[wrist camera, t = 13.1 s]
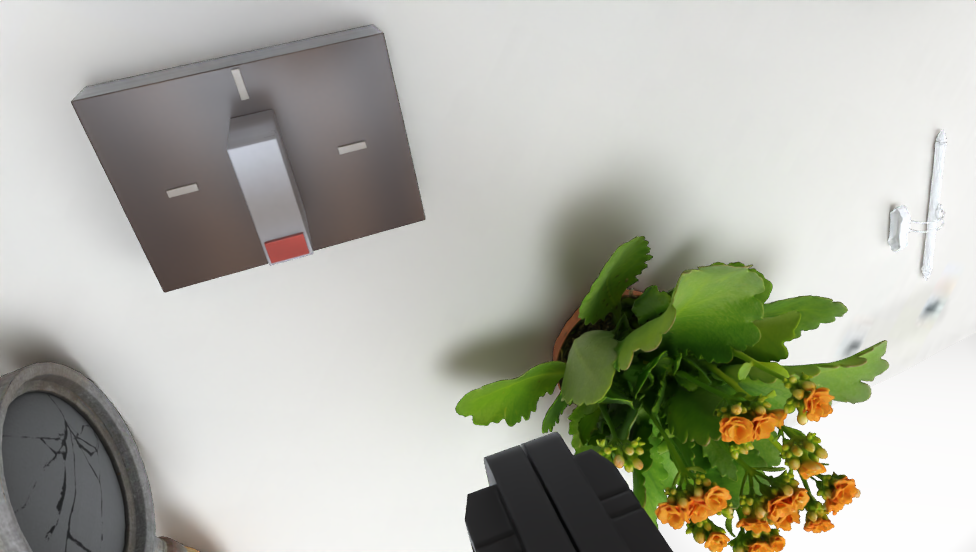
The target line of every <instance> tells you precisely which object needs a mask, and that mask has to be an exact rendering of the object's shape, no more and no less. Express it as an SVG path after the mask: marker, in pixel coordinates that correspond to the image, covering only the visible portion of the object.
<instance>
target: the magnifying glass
mask: <svg viewBox="0 0 976 552" xmlns="http://www.w3.org/2000/svg"><path fill="white" fill-rule="evenodd" d="M0 552H200V551H198V550H196V549H194V548H191V547H187V546H184V545H183V544H181V543H179V542H177V541H175V540H173V539H171V538H168V537H163V536H161V537H157V536H155V516H154V505H153V500H152V495H151V490H150V485H149V481H148V478H147V474H146V471H145V467H144V464H143V461H142V459H141V456H140V454H139V451H138V448H137V446H136V444H135V442H134V440H133V438H132V436H131V434H130V432H129V430H128V428H127V426H126V424H125V423H124V421H123V419H122V418H121V416H120V415H119V413H118V411H117V410H116V409H115V407H114V406H113V405H112V403H111V402H110V401H109V400H108V398H107V397H106V396H105V394H104V393H103V392H102V391H101V390H100V389H99V388H98V387H97V386H96V385H95V384H94V383H93V382H91V381H90V380H89V379H87V378H86V377H85V376H83V375H82V374H81V373H79V372H78V371H76V370H74V369H71V368H69V367H67V366H65V365H62V364H57V363H53V362H43V363H35V364H32V365H29V366H27V367H24V368H22V369H19V370H16V371H14V372H11V373H9V374H6V375H3V376H1V377H0Z"/></svg>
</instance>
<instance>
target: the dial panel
mask: <svg viewBox="0 0 976 552" xmlns="http://www.w3.org/2000/svg"><path fill="white" fill-rule="evenodd" d="M71 103H72V105H73V107H74V109H75V111H76V113H77V116H78V118H79V120H80V122H81V124H82V126H83V128H84V130H85V132H86V134H87V136H88V138H89V140H90V142H91V144H92V146H93V148H94V150H95V152H96V154H97V156H98V158H99V161H100V163H101V165H102V167H103V169H104V171H105V173H106V175H107V177H108V179H109V181H110V183H111V185H112V187H113V189H114V191H115V193H116V195H117V197H118V199H119V201H120V203H121V205H122V208H123V210H124V212H125V214H126V216H127V218H128V220H129V222H130V224H131V226H132V228H133V230H134V232H135V234H136V236H137V238H138V240H139V242H140V244H141V246H142V248H143V250H144V253H145V255H146V257H147V259H148V261H149V263H150V265H151V267H152V269H153V271H154V273H155V275H156V277H157V279H158V281H159V283H160V285H161V287H162V289H163V291H164V292H168V291H172V290H175V289H179V288H182V287H186V286H190V285H193V284H197V283H200V282H204V281H208V280H211V279H215V278H218V277H222V276H225V275H229V274H233V273H236V272H240V271H243V270H247V269H250V268H254V267H258V266H261V265H265V264H268V261H267V258H266V255H265V253H264V250H263V247H262V244H261V242H260V239H259V236H258V234H257V231H256V228H255V225H254V223H253V220H252V217H251V215H250V212H249V209H248V206H247V204H246V201H245V198H244V196H243V193H242V190H241V187H240V185H239V182H238V179H237V177H236V174H235V171H234V168H233V166H232V163H231V160H230V158H229V155H228V152H227V146H228V136H229V125H230V119H232V118H236V117H240V116H245V115H249V114H254V113H258V112H263V111H267V110H273V112H274V115H275V118H276V121H277V125H278V128H279V131H280V134H281V137H282V140H283V143H284V146H285V150H286V153H287V156H288V159H289V162H290V165H291V168H292V172H293V175H294V178H295V181H296V184H297V187H298V190H299V193H300V197H301V200H302V203H303V206H304V209H305V212H306V217H307V222H308V228H309V233H310V238H311V243H312V248H313V251H315V250H318V249H322V248H326V247H329V246H333V245H336V244H340V243H343V242H347V241H351V240H354V239H358V238H361V237H365V236H369V235H372V234H376V233H379V232H383V231H386V230H390V229H394V228H397V227H401V226H404V225H408V224H411V223H415V222H419V221H422V220H425V214H424V210H423V205H422V201H421V196H420V192H419V188H418V183H417V179H416V174H415V170H414V165H413V161H412V157H411V152H410V148H409V143H408V139H407V134H406V130H405V126H404V121H403V117H402V112H401V108H400V103H399V99H398V95H397V90H396V86H395V81H394V77H393V72H392V68H391V64H390V59H389V55H388V50H387V46H386V41H385V37H384V33H383V32H382V31H380V30H379V29H378V28H377V27H376V26H374V25H373V24H372V25H368V26H363V27H359V28H354V29H349V30H345V31H340V32H336V33H331V34H326V35H322V36H317V37H313V38H308V39H303V40H299V41H294V42H290V43H285V44H280V45H276V46H271V47H266V48H262V49H257V50H253V51H248V52H243V53H239V54H234V55H230V56H225V57H220V58H216V59H211V60H207V61H202V62H197V63H193V64H188V65H184V66H179V67H174V68H170V69H165V70H160V71H156V72H151V73H147V74H142V75H137V76H133V77H128V78H124V79H119V80H114V81H110V82H105V83H101V84H96V85H91V86H87V87H85V88H84V89H83V90H82V91H81V92H80V93H79V94H78V95H77V96H76V97H75V98H74V99H73V100H72V101H71Z"/></svg>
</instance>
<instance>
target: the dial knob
mask: <svg viewBox="0 0 976 552" xmlns="http://www.w3.org/2000/svg"><path fill="white" fill-rule="evenodd" d="M227 152H228V155H229V158H230V160H231V163H232V166H233V168H234V171H235V174H236V177H237V179H238V182H239V185H240V187H241V190H242V193H243V196H244V198H245V201H246V204H247V206H248V209H249V212H250V215H251V217H252V220H253V223H254V225H255V228H256V231H257V234H258V236H259V239H260V242H261V244H262V247H263V250H264V253H265V255H266V258H267V261H268V263H269V265H274V264H278V263H281V262H285V261H289V260H293V259H296V258H300V257H304V256H307V255H311V254H313V248H312V243H311V238H310V233H309V228H308V222H307V217H306V212H305V209H304V206H303V203H302V200H301V197H300V193H299V190H298V187H297V184H296V181H295V178H294V175H293V172H292V168H291V165H290V162H289V159H288V156H287V153H286V150H285V146H284V143H283V140H282V137H281V134H280V131H279V128H278V125H277V121H276V118H275V115H274V112H273V110H267V111H263V112H258V113H254V114H249V115H245V116H240V117H236V118H232V119H230V125H229V136H228V146H227Z"/></svg>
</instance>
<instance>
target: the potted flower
mask: <svg viewBox="0 0 976 552" xmlns="http://www.w3.org/2000/svg"><path fill="white" fill-rule="evenodd" d="M644 239H645V237H644V236H641V237H639V236H637V237H635V238H634V239H632V240H630V241H629V242H626V243H624V244H622V245H621V246H619V247H618V248H617V249H616V251H615V252H614V253H613V254H612V256H611V257H610V259H609V260H608V262H607V263H606V264H605V265H604V267H603V269H602V271H601V272H600V274H599V277H598V278H597V279H596V280H595V281H594V283H593V284H592V286H591V288H590V292H589V293H588V294H587V295H586V296H585V298H584V299H583V301H582V302H581V303H582V304H581V306H580V308H578V309H577V310H576V311H575V312H574V314H573V316H572V317H571V318H570V319H569V320H568V321H567V322H566V324H565V325H564V327H563V329H562V331H561V333H560V335H559V336H558V338H557V339H556V341H555V345H554V350H553V361H549V362H545V363H542V364H539V365H537V366H535V367H533V368H531V369H530V370H528V371H527V372H525V373H524V374H523V375H521V376H520V377H517V378H514V379H509V380H508V379H505V380H500V381H497V382H493V383H490V384H487V385H484V386H482V387H481V388H479V389H475V390H472V391H470V392H469V393H467V394H465V396H464V397H463V398H462V399H461V400H460V401H459V402H458V404H457V406H456V408H455V409H456V412H457V413H458V414H459V415H463V416H464V417H467V416H469V415H472V416H473V419H472V420H473V423H474V424H475V425H484V426H488V425H489V423H490V422H494V423H499V422H500V421H501V420H502V419H505V420H506V423H507V424H508V426H510V427H512V426H514V425H515V424H516V423H517V422H518V423H520V421H521V417H522V416H523V418H524V419H525V420H528V419H529V417H530V413H531V411H533V412H535V411H536V405H537V402H538V400H539V397H541V396H542V397H543V396H544V395H545V393H546V392H548V393H549V395H551V394H552V393H553V391H554V389H555V386H556V385H557V383H558V386H559V389H560V390H561V392H560V394H559V395H558V397H557V398H556V400H555V401H554V403H553V404H552V405H551V407H550V408H549V410H548V411H547V413H546V416H545V418H544V420H543V425H542V433H548V429H549V430H550V432H552V430H553V426H555V421H556V423H559V415H560V414H561V415H562V414H563V410H564V409H565V408H566V407H567V405H568V404H569V406H570V405H571V404H572V403H574V404H576V405H577V408H575V409H574V410H573V412H572V414H571V415H570V416H569V417H568V419H569V420H571V422H570V423H569V432H568V433H569V434H570V435H573V440H572V442H571V445H572V447H573V448H574V449H575V451H576V452H575V455H576V454H578V453H581V452H584V451H587V450H589V449H593V450H594V451H596V452H597V453H599V454H600V455H602V456H603V457H604V458H606V459H607V460H609V461H610V462H612V463H613V464H614V465H615V466H616V467H617V468H622V467H623V466H624V468H625V470H626V471H627V472H633V493H634V495H635V496H636V497H637V499H638V500H639V502H640V505H641V507H642V508H644V509H645V511H646V512H647V514H648V515H649V517H650V518H651V520H652V521H653V523H654V524H655V526H656V527H657V529H658V524H657V522H656V519H657V518H658V519H659V520H661V522H662V524H666V523H669V525H670V526H671V527H673V528H674V529H680V528H681V527H682V526H683V524H684V521H686V522H687V524H686V526H687V530H686V534H689V533H691V532H692V533H693V537H694V539H695V541H696V542H698V543H699V544H702V543H704V542H705V541H706V543H705V548H709V550H710V551H711V552H716V551H717V552H721V551H722V550H723V547H726V546H727V545H730V546H731V547H732V546H733V552H774V551H775V552H779V551H781V550H782V549H783V547H784V546H785V539H784V538H783V537H782V536H780V535H779V533H778V532H779V530H778V529H779V528H782V529H783V530H784V531H790V530H791V523H793V522H796V523H798V524H800V520H799V518H800V515H799V510H800V511H803V510H804V508H805V509H806V511H807V514H806V523H805V526H804V530H805V531H807V532H809V531H813V533H820V532H821V531H824V532H826V531H828V530H830V529H831V528H834V525H833V524H832V523H831V521H830V520H829V519H828V517H827V515H826V514H829V512H831V511H833V515H836V514H837V512H839V510H842V509H843V506H844V505H845V504H849V503H852V498H853V497H856V498H858V497H859V496H860V491H859V490H858V489H857V488H856V487H855V486H856V485H855V480H854V479H848V478H847V476H846V475H837V474H835V472H833V474H832V476H831V475H821V474H820V473H824V472H826V468H825V467H824V465H829V464H825V463H819V458H821V459H826V458H827V457H828V454H827V452H826V450H825V449H823V448H822V447H821V446H820V445H819V444H818V443H820V442H821V440H820V438H818V437H816V436H815V435H816V433H810V432H809V433H808V434H807V436H805V435H804V434H803V433H802V432H801V431H799V430H797V429H793V428H790V427H787V426H785V425H784V419H785V418H786V416H787V414H790V413H793V412H794V411H795V409H796V408H797V410H798V416H797V421H798V423H799V424H801V425H805V424H806V423H807V422H808V420H810V421H816V422H818V421H819V420H820V417H827V416H828V414H831V413H832V412H833V409H832V407H831V404H832V400H835V401H840V402H851V403H853V404H855V403H858V402H864V401H866V400H867V399H869V398H870V395H871V388H870V386H869V385H868V384H866V383H863V382H861V380H863V381H873V380H874V378H875V376H877V375H880V374H882V373H883V372H884V371H885V370H887V369H888V367H889V363H888V362H887V361H886V360H883V359H881V357H882V356H883V355H884V354H885V352H886V346H887V341H886V340H884V341H881V342H879V343H877V344H875V345H873V346H871V347H869V348H867V349H865V350H863V351H861V352H859V353H857V354H855V355H853V356H851V357H848V358H845V359H843V360H839V361H836V362H831V363H820V364H809V365H796V366H781V365H779V364H778V363H777V362H779V360H781V359H786V358H787V357H788V350H787V348H786V347H785V346H784V342H785V341H791V340H792V339H796V338H799V337H800V336H801V330H804V331H808V330H813V329H816V328H818V327H819V324H820V323H831V322H834V321H835V317H842V316H843V315H844V313H846V312H847V311H848V309H847V307H846V306H845V305H844V304H843V303H841V302H832V301H833V300H832V299H830V298H824V297H820V296H811V295H809V296H798V297H795V298H788V299H784V300H778V301H775V302H771V303H768V304H764V303H765V301H766V300H767V299H768V298H769V295H770V293H771V291H772V288H773V286H772V283H771V282H770V281H768V280H767V279H765V278H764V276H763V274H762V273H760V272H758V271H756V269H754V268H752V269H748V268H750V267H752V266H753V265H748V266H745V265H744V264H742V263H740V262H735V263H729V264H728V265H726V264H724V263H721V262H716V263H713V264H711V265H710V266H702V267H698V269H699V270H696V269H689V270H685V271H684V272H683V273H682V274H681V275H680V277H679V280H678V282H677V284H676V287H675V288H673V289H671V290H670V291H668V292H667V293H666V292H665V291H662V292H659V291H658V287H657V286H656V285H654V286H653V285H651V286H650V287H648V288H646V290H645V291H644V292H639V291H635V290H634V289H631V290H629V289H627V288H628V287H629V286H630V285H632V284H634V283H635V282H637V281H639V280H638V279H636V276H637V275H639V274H641V273H642V270H643V269H645V268H647V264H645V262H646V261H648V260H650V259H651V258H653V256H651V255H646V254H647V253H649V252H650V248H649V247H647V245H648V243H649V242H648V241H647V240H644ZM770 361H776V362H770ZM774 427H777V428H778V429H779V432H778V435H777V433H776V432H775V431H774ZM783 431H784V432H785V433H786V435H787V436H788V437H789V438H790V440H789V439H786V438H784V433H783ZM781 435H782V437H783V445H781V444H780V443H779V442H778V441H777V440H778V439H779V437H780V436H781ZM780 453H781V454H780ZM781 458H783V459H785V465H787V466H789V468H790V470H789V472H788V473H787V470H785V468H783V467H778V468H776V467H772V466H778V465H779V464H780V462H781ZM782 470H785V471H784V472H783V473H782V474H781V475H780V476H778V477H775V478H773V476H769V477H768V476H766V475H765V473H764V472H763V471H769V472H773V471H774V472H775V471H782ZM793 470H797V471H798V473H799V475H800V477H801V480H802V482H803V485H804V487H805V489H804V488H798V485H799V482H798V481H796V480H795V479H794V475H793ZM814 475H815V476H817V477H818V478H820V479H821V480H822V481H817V480H816V479H814V478H813V477H812V476H814ZM809 477H810V478H811V479H813V480H815V481H816V486H817V488H818V489H819V490H818V492H817V496H822V497H823V499H824V500H825V503H824V504H823V505H822V503H820V502H819V501H816V499H815V498H814V497H813V496H812V494H811V492H810V489H809V486H808V483H807V479H808V478H809ZM676 484H677V485H678V487H677V488H676ZM770 485H771V486H770ZM664 490H665V491H666V492H664ZM806 492H807V493H806ZM667 495H669V496H668V498H667ZM657 506H659V507H658V508H656V507H657ZM734 510H736V511H737V514H738V517H739V522H738V523H737V524H736V527H737V528H739V527H740V528H741V530H740V532H739V534H738V536H737V537H736V538H735V539H733V540H731V541H730V539H729V538H728V537H727V536H726V535H725V533H726V532H725V530H724V529H723V528H721V527H718V526H716V525H715V524H714V523H713V522H712V521H711V520H709V519H708V516H712V515H714V514H717V515H721V514H722V515H723V516H724V517H726V518H727V519H726V522H725V526H726V529H727V530H728V532H729V533H730V534H731V535H732V536H733V537H735V535H734V534H733V533H732V525H731V523H732V518H733V512H734ZM773 524H774V525H775V526H776V528H777V529H770V526H769V525H773ZM744 528H745V530H746V531H747V532H746V533H745V531H744ZM728 541H730V542H729V543H728V544H727V542H728Z"/></svg>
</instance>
